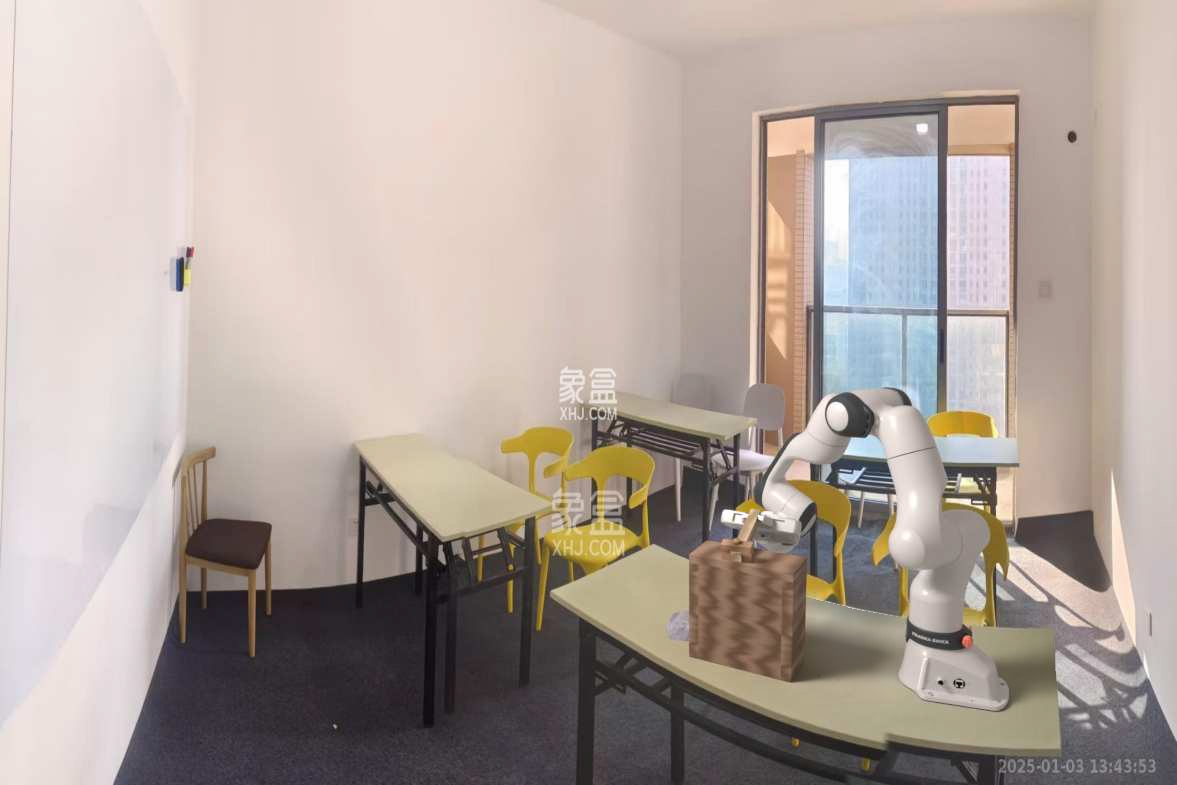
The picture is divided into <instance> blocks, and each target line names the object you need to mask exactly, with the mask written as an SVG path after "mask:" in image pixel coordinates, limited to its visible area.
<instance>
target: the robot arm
mask: <svg viewBox="0 0 1177 785" xmlns="http://www.w3.org/2000/svg"><path fill="white" fill-rule="evenodd" d="M868 436H873V437H874V438H876V439H878V441H879V442H880V444H881V446H882V449H883V453H884V456H885V459H886V462H887V466H888V470H889V473H890V475H891V476H890V477H891V480H892V482H893V487H894V490H895V494H896V515H895V516H896V518H895V522H894V526H893V529H892V530H891V532H890V533H889V536H888V541H887V542H888V544H887V545H888V550H889V553H890V557H892V559H893V561H894V562H895V563H896V564H897V565H898V566H899V567H901V568H902V569H904V570H909V571H919V572H918V574H917V575H916V576H915V577H914V578H913V579H912V582H911V584H910V586H909V587H910V588H909V601H908V615H907V617H906V619H905V628H904V629H905V630H904V633H905V634H904V637H905V643H906V644H905V649H904V653H903V659H902V662H901V665H900V667H899V670H898V672H897V676H898V678H899V680H900V682H901V683H902V684H904V685H905V686H906V687H907V688H909V689H911V690H912V691H913V692H915V693H916V694H917V695H918V696H919V697H920V698H921V699H922V700H925V701H929V702H934V703H941V704H942V703H943V704H947V705H948V704H949V705H953V706H961V707H967V708H973V709H974V708H975V709H980V710H985V711H986V710H987V711H993V712H998V711H1001V710H1003V709H1004V708H1006V707H1007V705H1008V704H1009V702H1010V700H1009V699H1010V689H1009V685H1008V684H1007V682H1006V681H1005V680H1004V679H1003V678H1002V677H1000V676H999V673H998V669H997V666H996V662H994V660H993V658H991V657H990V656H989V655H988V654H986V653H985V652H984V651H983V650H982V649H981V648H979V647H978V646H977V645H976V644H974V639H973V629H972V626H971V625H969V627H967V626H966V625H965V624H964V623H963V622H964V611H965V598H966V592H967V588H968V585H969V582H970V579H971V576H972V574H973V571H974V568H975V566H976V563H977V561H978V559H979V557H980V556H981V554H982V552H983V551H984V550H985V549H986V547H987V546H988V544H989V543H990V540H991V530H990V527H989V526H990V525H989V524H988V523H987V521H986V519H985V518H984V517H983V516H982V515H981V514H980V513H979V512H976V511H974V510H971V509H963V508H962V509H959V508H958V509H957V508H955V509H954V508H953V509H948V510H945V511H943V504H942V502H943V494H944V491H945V490H946V488H947V486H948V481H949V480H948V475H947V473H946V470H945V466H944V463H943V461H942V458H941V454H940V451H939V448H938V447H937V446H938V445H937V443H936V440H935V437H934V435H933V432H932V431H931V429H930V427H929V424H928V422H927V421H926V419H925V417H924V415H923V414H922V412H921V411H920V410H919V409H918V408H917V407H914V406H913V404H912V401H911V398H910V397H909V395H908V394H907V393H906V392H905V391H903V390H902V389H899V388H896V387H889V386H888V387H887V386H884V387H881V388H878V387H877V388H860V389H855V390H852V391H843V392H841V393H839V392H832V393H828V394H826V395H825V396H823V397H822V399H821V400H820V402H819V403H818V405H817V406H816V408H815V409H814V411H813V413H812V415H811V417H810V419H809V420H808V423H807V426H806V427H805V429H804V431H802V432H794V434H792V435H790V437H788V439H786V441H785V442H784V443H783V445H782V446H781V447H780V449H779V450H778V452H777V454H776V456H775V457H774V458H773V460H772V462H771V463H770V464H769V466H768V468H767V469H766V470H765V472H764V474H762V476H761V477H760V478H759V479H758V480H757V482H756V483H755V485H754V487H753V490H752V493H753V494H752V496H753V499H754V502H755V504H757V505H758V506H759V507H761V509H764V511H761V515H758V522H759V524H758V526H757V529H756V531H755V533H754V535H753V538H752V539H753V540H754V541H755V542H757V543H758V544H759V545H761V546H762V547H763V548H765V549H766V550H767V551H772V552H778V553H783V554H788V553H789V552H790V551H792V550H793V549H794V548H795V547H797V546H798V545H799V543H800V539H801V538H804V537H805V536H806V535H808V533H809V532H810V531H811V530H812V529H813V527H814V526H815V524H816V522H817V519H818V505H817V503H816V502H815V501H814V500H813V499H812V498H810V497H809V496H807V495H806V494H805V493H803V492H802V491H800V490H799V489H797V488H796V487H794V486H793V485H792V484H790V482H788V480H787V479H786V476H785V475H786V474H787V472H788V471H789V469H790V467H791V466H792V465H793V463H794V462H795V460H797V461H803V462H805V463H809V464H813V465H817V466H818V465H821V466H822V465H823V466H824V465H830V464H834V463H836V462H837V461H838V460H840V459H841V458H842V457H843V456H844V454H845V453H846V450H847V449H848V446H849V445H850V443H851V440H852V438H853V439H854V438H857V439H866V438H868ZM748 514H749V512H745V511H739V510H733V509H725V508H724V509H723V510H722V513H721V517H720V523H721V524H723V525H724V526H726V527H728V528H731V529H734V530H735V529H736V530H740V531H741V529H742V527H743V525H744V523H745V521H746V519H747V517H748Z"/></svg>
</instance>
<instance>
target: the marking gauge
mask: <svg viewBox="0 0 1177 785" xmlns="http://www.w3.org/2000/svg"><path fill="white" fill-rule="evenodd" d="M761 512H762V509H756V508H750V510H749V512H748V513H749V514H748V517H747V519H746V521H745V523H744V525H743V527H742V529H741V530H740V532H739V533H738V535H737V537H734V538H733V539H729V538H723V539H722V540H721V542H720V543H721V555H722V559H725V560H731V561H736V562H749V563H752V561H753V558H754V548H755V547H754V542H753V541H752V539H753V535H754V533H755V531H756V529H757V526H758V524H759V522H758V515H761Z"/></svg>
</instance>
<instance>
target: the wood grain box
mask: <svg viewBox="0 0 1177 785" xmlns="http://www.w3.org/2000/svg"><path fill="white" fill-rule="evenodd" d="M721 543H722V542H718V541H714V540H705V541H704V542H703V543H701V545H699V546H698V547H696V548H695V549H694V550H693V551H692V552H691V553H689V554H688V593H689V594H688V611H689V641H688V656H689V658H695V659H698V660H702V661H706V662H708V663H713V664H717V665H721V666H726V667H729V668H733V669H737V670H741V671H744V672H748V673H752V674H756V675H760V676H763V677H768V678H772V679H774V680H778V681H783V682H787V683H792V682H793V680H794V679H795V677H796V676H797V674H798V672H799V670H800V669H801V667H802V666H803V664H804V663H805V659H806V658H805V654H806V653H805V652H806V651H805V650H806V647H805V646H806V616H807V615H806V610H807V576H808V575H807V574H808V571H807V570H808V569H807V568H808V557H807V556H799V555H793V554H789V553H778V552H772V551H769V550H767V549H766V550H765V549H761V548H755V547H753V548H754V558H753V561H752V563H749V562H736V561H731V560H725V559H722V555H721Z"/></svg>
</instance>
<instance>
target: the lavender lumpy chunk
mask: <svg viewBox="0 0 1177 785" xmlns="http://www.w3.org/2000/svg"><path fill="white" fill-rule="evenodd" d="M666 628H667V629H666V631H667V634H668V638H669V639H670V640H672V641H677V642H689V610H681V611H680V610H679V611H676V612H674V613H672V614H671V617H669V619H668V621H667V624H666Z"/></svg>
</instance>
